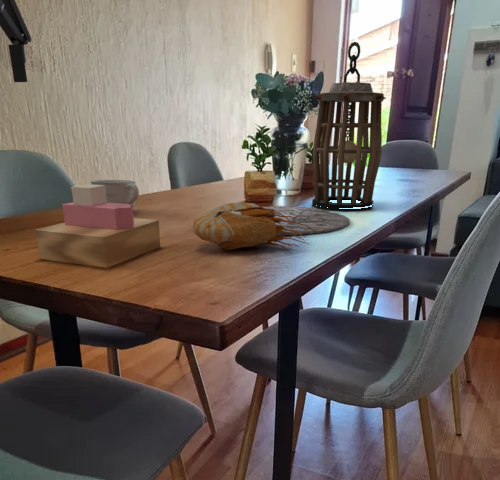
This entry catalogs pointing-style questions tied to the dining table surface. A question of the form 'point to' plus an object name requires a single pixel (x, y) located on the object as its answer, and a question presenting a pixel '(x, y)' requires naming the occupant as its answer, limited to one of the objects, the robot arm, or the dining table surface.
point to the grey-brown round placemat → (309, 220)
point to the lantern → (347, 143)
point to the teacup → (119, 191)
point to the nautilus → (242, 226)
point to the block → (97, 243)
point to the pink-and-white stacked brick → (96, 209)
